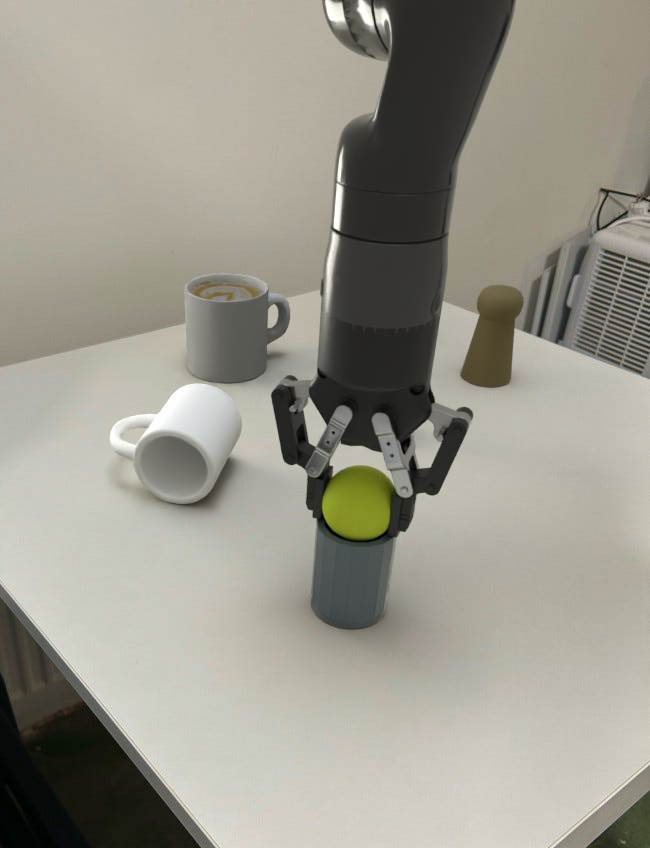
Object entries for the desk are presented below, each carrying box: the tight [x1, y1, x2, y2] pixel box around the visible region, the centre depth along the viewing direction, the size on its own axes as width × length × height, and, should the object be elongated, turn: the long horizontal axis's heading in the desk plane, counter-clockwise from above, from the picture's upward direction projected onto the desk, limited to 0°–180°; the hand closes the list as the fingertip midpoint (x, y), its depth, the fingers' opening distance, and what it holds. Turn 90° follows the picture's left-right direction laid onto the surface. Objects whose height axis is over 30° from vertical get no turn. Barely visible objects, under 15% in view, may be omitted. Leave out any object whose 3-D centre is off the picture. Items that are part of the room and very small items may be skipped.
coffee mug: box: [184, 272, 291, 384], centre depth 101 cm, size 13×10×10 cm
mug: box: [109, 382, 243, 505], centre depth 80 cm, size 12×10×8 cm
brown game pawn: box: [460, 284, 524, 388], centre depth 98 cm, size 6×6×11 cm
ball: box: [322, 464, 396, 541], centre depth 61 cm, size 6×6×6 cm
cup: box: [310, 518, 397, 630], centre depth 64 cm, size 6×6×8 cm
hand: (357, 521), depth 62 cm, fingers closed on ball, 5 cm apart
